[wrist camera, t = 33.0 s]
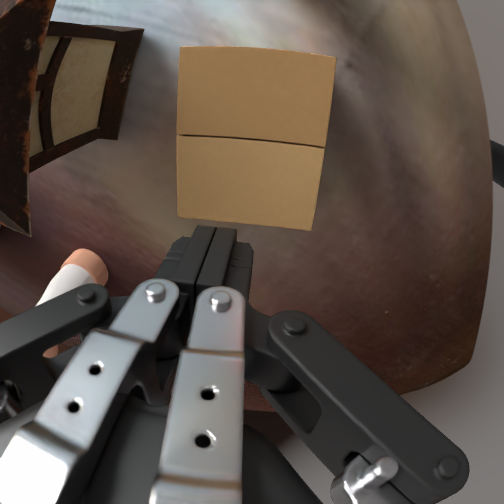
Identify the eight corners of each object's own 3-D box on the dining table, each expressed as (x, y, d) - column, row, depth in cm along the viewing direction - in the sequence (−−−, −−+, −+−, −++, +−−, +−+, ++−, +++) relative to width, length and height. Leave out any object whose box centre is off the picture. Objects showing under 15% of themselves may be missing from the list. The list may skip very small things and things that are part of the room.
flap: (311, 228, 27) (311, 231, 27) (178, 215, 27) (177, 217, 27) (324, 147, 23) (325, 148, 23) (178, 135, 23) (176, 136, 23)
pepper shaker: (99, 294, 47) (44, 383, 30) (65, 267, 45) (1, 350, 28) (115, 268, 44) (52, 365, 27) (78, 239, 41) (3, 325, 25)
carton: (303, 190, 35) (311, 231, 27) (202, 180, 36) (177, 218, 27) (319, 63, 27) (337, 56, 19) (207, 54, 28) (179, 45, 19)
